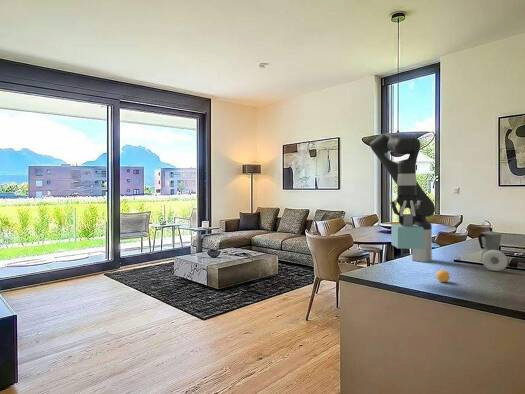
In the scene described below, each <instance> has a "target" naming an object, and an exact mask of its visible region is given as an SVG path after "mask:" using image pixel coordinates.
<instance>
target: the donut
mask: <svg viewBox="0 0 525 394" xmlns="http://www.w3.org/2000/svg"><path fill="white" fill-rule="evenodd" d="M492 257H496V258H498V260H499V262H498V263H497V264H493V263H492V262H491V261H490V259H491V258H492ZM482 261H483V262H482V264H483V266H484V267H485V268H486V269H488V270H489V271H493V272H500V271H503V270H504V269H505V268H506V267H507V266H508V258H507V255H506V254H505V253H503V251H500V250H499V251H498V250H489V251H487V252H486V253H484V255H483V257H482Z"/></svg>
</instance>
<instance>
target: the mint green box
mask: <svg viewBox="0 0 525 394" xmlns="http://www.w3.org/2000/svg"><path fill="white" fill-rule="evenodd" d="M390 239H391V246H393V247H395V248H396V249H411V250H412V249H423V227H421V226H418V225H413V215H412V214H411V213H403V225H400V224H391V238H390Z"/></svg>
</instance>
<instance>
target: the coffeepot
mask: <svg viewBox="0 0 525 394" xmlns="http://www.w3.org/2000/svg"><path fill="white" fill-rule="evenodd" d="M502 236H503V235H502V233H501V232H496V231H493V227H488V231H484V232H479V234H478V236H477V240H478V242H479V248H480V250H481V249H482V251H481V256H480V262H481V261H482V257H483V255H484V253H486V252H487V251H489V250H498V251H500V250H499V247H500V246H501V240H502ZM490 261H491V262H492V263H493V264H497V263H498V262H499V260H498V258H496V257H492V258H491V259H490ZM482 263H483V261H482Z"/></svg>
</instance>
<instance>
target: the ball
mask: <svg viewBox="0 0 525 394" xmlns="http://www.w3.org/2000/svg"><path fill="white" fill-rule="evenodd" d="M450 277H451V275H450V273H449V272H448V271H447V270H444V269H441V270H439V271H437V272H436V279H437V280H438V281H439V282H441V283H446V282H448V281H450V279H451V278H450Z"/></svg>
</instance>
